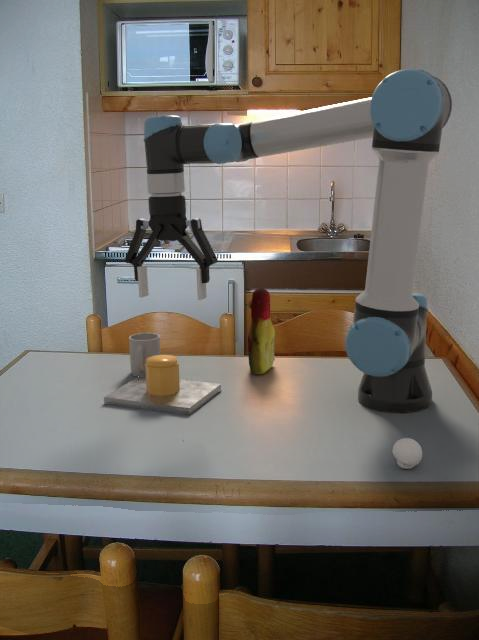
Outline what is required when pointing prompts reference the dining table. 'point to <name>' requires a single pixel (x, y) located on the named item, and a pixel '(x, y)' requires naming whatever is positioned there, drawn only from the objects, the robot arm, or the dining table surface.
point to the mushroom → (407, 453)
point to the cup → (142, 351)
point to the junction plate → (180, 402)
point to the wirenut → (162, 375)
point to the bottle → (261, 333)
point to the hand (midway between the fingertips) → (172, 297)
